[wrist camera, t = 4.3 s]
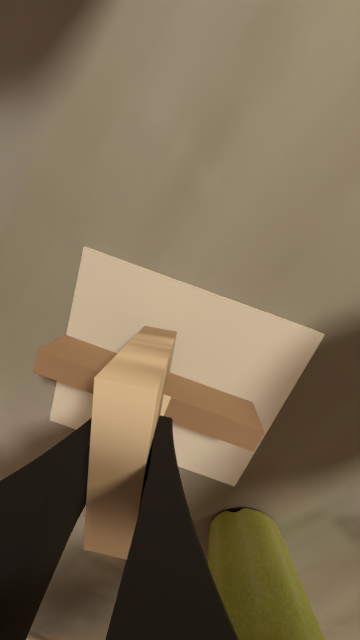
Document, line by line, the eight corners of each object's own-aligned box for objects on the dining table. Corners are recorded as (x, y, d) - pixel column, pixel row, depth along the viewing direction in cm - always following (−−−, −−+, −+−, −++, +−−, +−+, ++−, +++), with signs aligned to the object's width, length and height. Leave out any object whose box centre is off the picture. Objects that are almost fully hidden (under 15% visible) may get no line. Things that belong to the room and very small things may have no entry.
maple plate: (144, 325, 12) (94, 377, 6) (177, 331, 12) (157, 390, 6) (130, 432, 14) (83, 549, 8) (158, 438, 14) (130, 561, 8)
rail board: (321, 332, 13) (359, 351, 10) (233, 481, 16) (241, 528, 13) (87, 247, 13) (53, 240, 10) (52, 416, 16) (20, 449, 13)
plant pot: (175, 541, 19) (158, 758, 10) (217, 475, 16) (238, 691, 8) (264, 576, 19) (316, 818, 11) (319, 516, 17) (443, 770, 8)
